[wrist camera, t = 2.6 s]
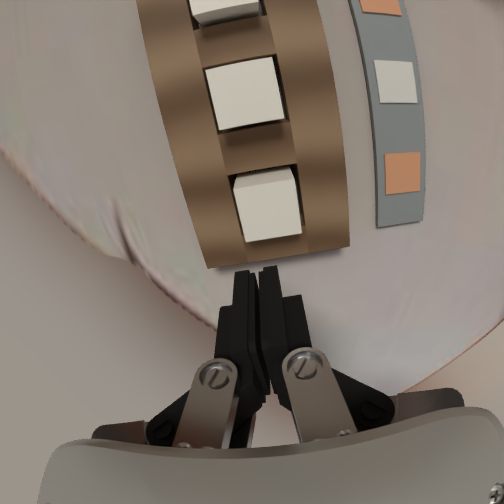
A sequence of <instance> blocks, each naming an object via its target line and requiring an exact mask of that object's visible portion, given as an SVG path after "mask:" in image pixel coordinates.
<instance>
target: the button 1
mask: <svg viewBox="0 0 504 504" xmlns="http://www.w3.org/2000/svg"><path fill="white" fill-rule="evenodd" d="M189 1H190V6H191V10H192V14H193V16H194V18H195V19H196V20H197V21H198V22H199V23H200V24H201V26H202V27H207V26H211V25H215V24H219V23H224V22H228V21H233V20H238V19H244V18H250V17H256V16H258V14H259V1H258V0H189Z"/></svg>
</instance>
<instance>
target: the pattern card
mask: <svg viewBox="0 0 504 504" xmlns="http://www.w3.org/2000/svg"><path fill="white" fill-rule="evenodd" d="M348 2H349V5H350V9H351V13H352V16H353V20H354V24H355V29H356V33H357V37H358V42H359V47H360V51H361V56H362V62H363V67H364V73H365V79H366V85H367V92H368V99H369V107H370V116H371V125H372V135H373V148H374V163H375V187H376V225H377V227H383V226H390V225H396V224H403V223H409V222H416V221H422V220H423V213H424V198H425V166H426V156H425V125H424V110H423V99H422V90H421V82H420V75H419V68H418V62H417V56H416V51H415V45H414V40H413V36H412V31H411V27H410V23H409V19H408V15H407V11H406V8H405V4H404V1H403V0H348Z"/></svg>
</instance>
